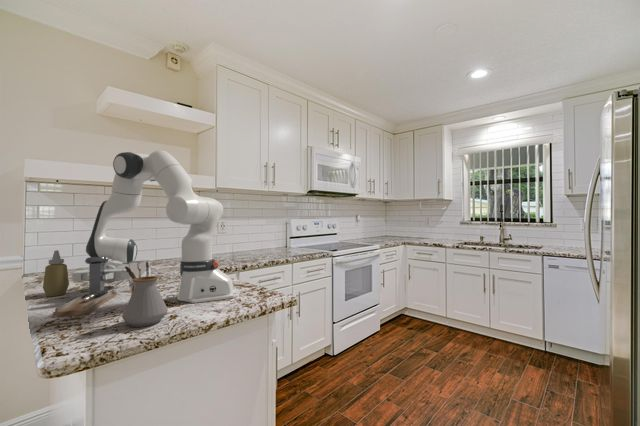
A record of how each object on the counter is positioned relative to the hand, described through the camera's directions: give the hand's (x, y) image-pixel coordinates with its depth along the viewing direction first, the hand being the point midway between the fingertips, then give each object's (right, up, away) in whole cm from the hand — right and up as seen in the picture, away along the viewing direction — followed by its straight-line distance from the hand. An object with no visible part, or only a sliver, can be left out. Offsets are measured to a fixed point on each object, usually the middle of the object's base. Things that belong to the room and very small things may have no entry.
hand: (96, 277), depth 111 cm
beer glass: (+19, -8, -4) cm, 21 cm away
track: (+2, -8, -6) cm, 10 cm away
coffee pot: (+29, -8, -21) cm, 37 cm away
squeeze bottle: (-23, -9, +10) cm, 27 cm away
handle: (+1, -7, -3) cm, 7 cm away
